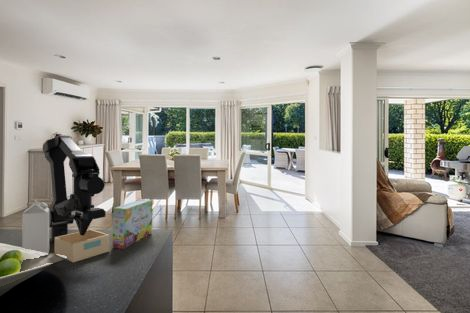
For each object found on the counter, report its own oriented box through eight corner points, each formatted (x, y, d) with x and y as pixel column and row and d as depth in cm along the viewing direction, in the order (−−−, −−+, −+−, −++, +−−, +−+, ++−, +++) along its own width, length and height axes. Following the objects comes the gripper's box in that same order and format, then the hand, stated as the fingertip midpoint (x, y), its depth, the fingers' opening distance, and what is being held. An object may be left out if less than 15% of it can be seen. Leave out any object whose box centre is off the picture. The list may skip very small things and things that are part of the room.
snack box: (125, 249, 111) (125, 208, 110) (111, 248, 112) (111, 207, 111) (152, 233, 132) (152, 198, 131) (140, 232, 133) (141, 198, 132)
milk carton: (22, 259, 99) (21, 202, 99) (25, 252, 106) (25, 198, 105) (47, 256, 103) (47, 200, 102) (49, 249, 109) (49, 197, 108)
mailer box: (54, 254, 104) (54, 237, 104) (90, 244, 115) (90, 229, 115) (71, 262, 98) (71, 243, 98) (108, 251, 109) (108, 234, 109)
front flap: (72, 262, 98) (72, 243, 98) (108, 250, 109) (108, 234, 108) (73, 262, 97) (73, 244, 97) (109, 251, 108) (109, 234, 108)
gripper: (44, 190, 104) (44, 235, 105) (73, 196, 94) (73, 246, 94) (76, 187, 113) (76, 228, 114) (106, 192, 103) (106, 238, 104)
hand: (82, 235), depth 106 cm, fingers closed
